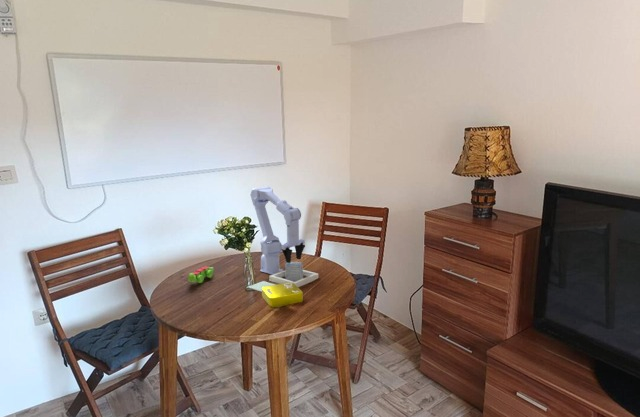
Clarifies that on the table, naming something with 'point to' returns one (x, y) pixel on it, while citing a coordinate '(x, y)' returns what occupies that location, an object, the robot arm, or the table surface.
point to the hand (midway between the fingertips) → (293, 260)
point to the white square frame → (278, 279)
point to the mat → (260, 285)
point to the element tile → (282, 294)
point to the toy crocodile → (200, 274)
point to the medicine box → (294, 271)
